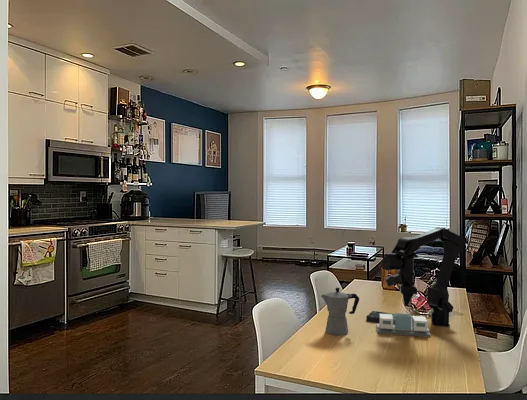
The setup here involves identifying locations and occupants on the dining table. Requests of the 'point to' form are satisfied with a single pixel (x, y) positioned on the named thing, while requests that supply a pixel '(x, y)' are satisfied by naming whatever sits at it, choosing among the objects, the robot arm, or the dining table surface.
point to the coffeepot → (338, 311)
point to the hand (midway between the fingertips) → (406, 306)
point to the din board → (416, 329)
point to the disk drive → (377, 316)
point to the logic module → (402, 321)
